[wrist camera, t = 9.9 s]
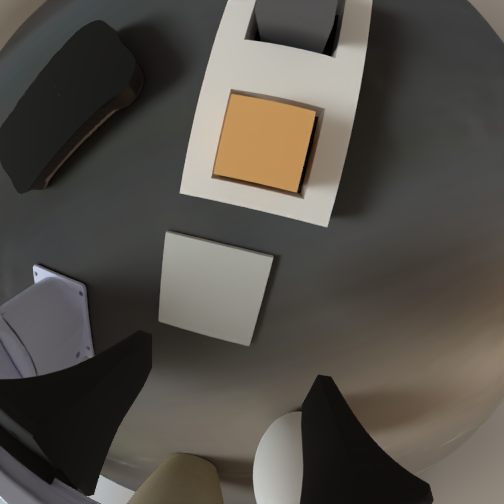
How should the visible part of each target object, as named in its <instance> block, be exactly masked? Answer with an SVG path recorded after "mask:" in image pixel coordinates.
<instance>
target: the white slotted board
mask: <svg viewBox="0 0 504 504" xmlns="http://www.w3.org/2000/svg"><path fill="white" fill-rule="evenodd" d="M256 3H257V0H228V2H227V5H226V8H225V11H224V14H223V17H222V20H221V23H220V26H219V29H218V32H217V35H216V39H215V42H214V45H213V48H212V52H211V55H210V59H209V62H208V66H207V69H206V73H205V77H204V81H203V84H202V88H201V92H200V96H199V100H198V105H197V109H196V113H195V117H194V122H193V126H192V131H191V136H190V141H189V145H188V150H187V156H186V161H185V166H184V172H183V177H182V183H181V189H180V193H182V194H187V195H191V196H196V197H201V198H206V199H211V200H215V201H220V202H224V203H229V204H233V205H238V206H242V207H247V208H251V209H255V210H260V211H264V212H268V213H272V214H276V215H281V216H285V217H289V218H293V219H297V220H301V221H305V222H309V223H312V224H316V225H320V226H324V227H327V226H328V223H329V219H330V216H331V212H332V208H333V205H334V201H335V197H336V194H337V190H338V186H339V182H340V178H341V174H342V170H343V166H344V162H345V158H346V153H347V149H348V145H349V140H350V136H351V131H352V126H353V122H354V117H355V112H356V107H357V102H358V97H359V91H360V86H361V80H362V74H363V68H364V62H365V56H366V49H367V42H368V35H369V27H370V19H371V9H372V0H338V2H337V7H336V13H335V14H336V15H339V17H338V23H337V28H336V34H335V39H334V44H333V50H332V55H331V57H330V56H327V55H323V54H319V53H315V52H311V51H307V50H303V49H298V48H293V47H289V46H283V45H278V44H272V43H266V42H259V41H254V38H255V35H256V31H257V27H258V24H257V19H256V14H255V6H256ZM231 94H235V95H242V96H248V97H253V98H259V99H264V100H269V101H274V102H279V103H283V104H288V105H292V106H296V107H300V108H304V109H308V110H312V111H316V114H315V116H317V117H318V122H317V126H316V131H315V135H314V139H313V144H312V148H311V152H310V156H309V161H308V165H307V169H306V173H305V177H304V181H303V185H302V189H301V193H296V192H292V191H288V190H284V189H280V188H276V187H272V186H267V185H263V184H259V183H254V182H250V181H245V180H240V179H236V178H231V177H226V176H222V175H217V174H214V169H215V164H216V159H217V155H218V150H219V145H220V141H221V136H222V132H223V128H224V123H225V119H226V115H227V110H228V106H229V102H230V98H231Z"/></svg>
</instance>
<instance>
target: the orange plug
mask: <svg viewBox="0 0 504 504" xmlns="http://www.w3.org/2000/svg"><path fill="white" fill-rule="evenodd" d="M315 114H316V111H312V110H308V109H304V108H300V107H296V106H292V105H288V104H283V103H279V102H274V101H269V100H264V99H259V98H253V97H248V96H242V95H235V94H231V98H230V102H229V106H228V110H227V115H226V119H225V123H224V128H223V132H222V136H221V141H220V145H219V150H218V155H217V159H216V164H215V169H214V174H217V175H222V176H227V177H232V178H236V179H241V180H245V181H250V182H254V183H259V184H263V185H267V186H272V187H276V188H280V189H284V190H288V191H292V192H296V193H297V190H298V186H299V182H300V178H301V174H302V170H303V166H304V161H305V157H306V153H307V149H308V145H309V140H310V136H311V132H312V128H313V123H314V119H315Z"/></svg>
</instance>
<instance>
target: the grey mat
mask: <svg viewBox="0 0 504 504" xmlns="http://www.w3.org/2000/svg"><path fill="white" fill-rule="evenodd" d="M272 261H273V255H269V254H265V253H261V252H256V251H252V250H248V249H244V248H240V247H236V246H231V245H227V244H223V243H219V242H215V241H211V240H206V239H202V238H198V237H194V236H190V235H185V234H181V233H177V232H173V231H169V230H168V231H167V232H166V236H165V245H164V254H163V264H162V275H161V288H160V302H159V322H162V323H166V324H169V325H172V326H175V327H179V328H182V329H185V330H189V331H192V332H196V333H199V334H203V335H207V336H210V337H214V338H218V339H222V340H226V341H230V342H234V343H238V344H242V345H246V346H250V343H251V339H252V335H253V332H254V328H255V325H256V321H257V317H258V314H259V310H260V306H261V302H262V299H263V295H264V291H265V288H266V284H267V280H268V276H269V272H270V269H271V265H272Z"/></svg>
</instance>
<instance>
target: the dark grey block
mask: <svg viewBox="0 0 504 504" xmlns="http://www.w3.org/2000/svg"><path fill="white" fill-rule="evenodd" d="M337 2H338V0H257V3H256V6H255V14H256V19H257V24H258V29H259V34H260V39H261V42H266V43H272V44H278V45H283V46H289V47H293V48H298V49H303V50H307V51H311V52H315V53H319V54H322V52H323V50H324V47H325V45H326V42H327V40H328V37H329V34H330V32H331V29H332V27H333V24H334V18H335V13H336V7H337Z"/></svg>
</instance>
